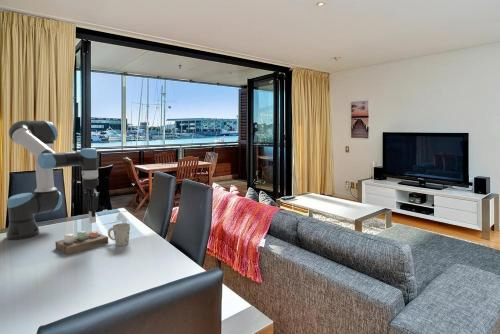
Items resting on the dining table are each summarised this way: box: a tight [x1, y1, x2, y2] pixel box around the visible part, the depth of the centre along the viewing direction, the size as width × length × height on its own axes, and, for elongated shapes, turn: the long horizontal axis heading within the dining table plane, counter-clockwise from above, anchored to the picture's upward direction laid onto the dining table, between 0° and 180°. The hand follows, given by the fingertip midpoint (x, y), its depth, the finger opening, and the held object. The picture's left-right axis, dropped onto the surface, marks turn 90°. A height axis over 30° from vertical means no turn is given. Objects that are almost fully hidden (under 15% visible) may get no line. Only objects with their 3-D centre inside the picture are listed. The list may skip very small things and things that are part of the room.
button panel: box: [55, 232, 109, 256], centre depth 165 cm, size 14×20×4 cm
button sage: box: [76, 230, 88, 241], centre depth 164 cm, size 4×4×4 cm
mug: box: [107, 222, 131, 247], centre depth 167 cm, size 8×13×10 cm, turn 78°
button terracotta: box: [88, 230, 99, 238], centre depth 169 cm, size 4×4×4 cm
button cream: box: [63, 233, 76, 244], centre depth 159 cm, size 4×4×4 cm
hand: (92, 222), depth 168 cm, fingers closed
